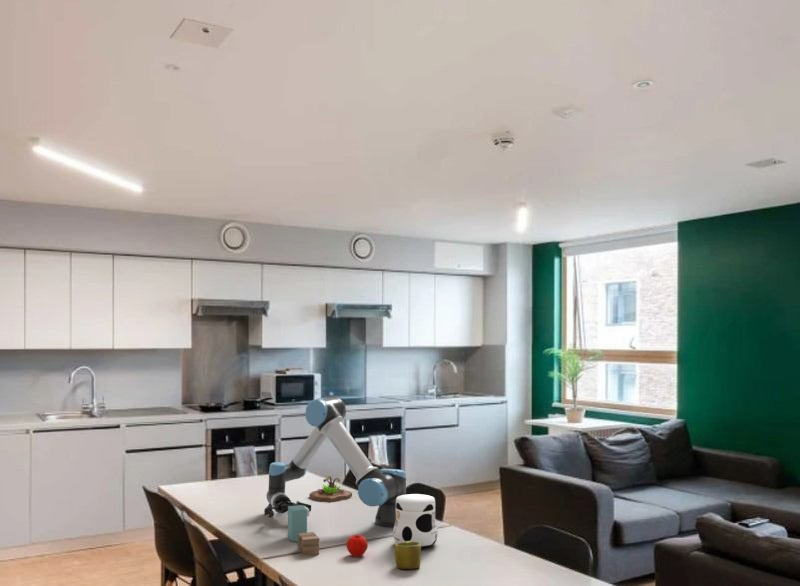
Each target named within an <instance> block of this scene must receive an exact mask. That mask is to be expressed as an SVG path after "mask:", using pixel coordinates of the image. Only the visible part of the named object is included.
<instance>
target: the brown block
mask: <svg viewBox="0 0 800 586" xmlns="http://www.w3.org/2000/svg"><path fill="white" fill-rule="evenodd" d="M297 551H298V552H299V553H300V554H301V555H302V556H303V557H309V556H316V555H317V556H318V555H320V537H319V536H318V535H317V534H316V532H314V531H309V532H308V531H307V533H298V541H297Z"/></svg>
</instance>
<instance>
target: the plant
mask: <svg viewBox="0 0 800 586" xmlns="http://www.w3.org/2000/svg"><path fill="white" fill-rule="evenodd" d="M322 480H323V483H326V482H327V485H324V484H322V487H321V488H318V489H316V490H314V491H311V492H310V493H309V494H308V495H309V499H311V500H312V501H316V502H327V503H336V502H340V501H341V502H342V501H344V500H349V499H351V498H352V497H353V492H351V491H349V490H345V489H342V488H341V487H342V485H340V486H338V485H337V484H336V483H335V482H336V480H337V482H339V483H340V482H341V479H340V478H338V477H336V478H334V479H332V477H331V476H330V475H328V476H327V477H326V478H324V479H322Z"/></svg>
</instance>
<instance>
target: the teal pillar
mask: <svg viewBox="0 0 800 586" xmlns="http://www.w3.org/2000/svg"><path fill="white" fill-rule="evenodd" d="M307 532H308V516H307V509H306V508H305V507H304V506H303V505H297V506H288V511H287V538H288V539H289V540H290V541H291V542H298V533H307Z"/></svg>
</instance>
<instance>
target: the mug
mask: <svg viewBox="0 0 800 586" xmlns="http://www.w3.org/2000/svg"><path fill="white" fill-rule="evenodd" d="M393 548H394V550H393V551H394V559H395V566H396V567H397V569H399V570H413V569H419V568H420V567H421V552H422V551H421V549H422V548H421V545H420V543H418V542H410V541H406V542H399V543H396V542H395V543H394V547H393Z"/></svg>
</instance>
